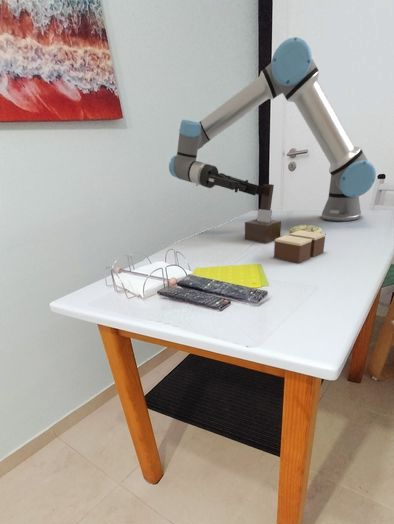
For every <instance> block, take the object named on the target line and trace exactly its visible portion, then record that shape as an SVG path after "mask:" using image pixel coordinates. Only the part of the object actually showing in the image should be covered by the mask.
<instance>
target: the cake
mask: <svg viewBox="0 0 394 524" xmlns="http://www.w3.org/2000/svg"><path fill="white" fill-rule="evenodd" d="M288 235H289V236H295V237H301V238H307V239H312V241H311V251H310V258H315V257H316V256H318V255H319V256H320V255H321V254H324V249H325V242H326V233H322V232H321V233H316V232H309V231H303V230H299V231H296V232H293V233H291V234H290V233H289V234H288Z"/></svg>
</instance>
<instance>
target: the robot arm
mask: <svg viewBox="0 0 394 524" xmlns="http://www.w3.org/2000/svg"><path fill="white" fill-rule="evenodd" d="M312 57H313V56H312V50H311V47H310V46H309V43H307V41H306V40H305V39H303V38H301V37H297V36H296V37H295V36H293V37H289V38H287V39H285V40H284V41H282V42H281V43H279V45H278V47H277V48H276V49H275V51H274V53H273V55H272V58H271V62H270V63H269V64H268V65H267V66H266V67H264V68H263V69H262V70H261V71H260V74H259V76H258V77H257V78H256V79H254V80H253V81H252V82H250V83H249V84H248V85H246V86H245V87H244V88H242V89H241V90H239V92H237V93H236V94H234V95H233V96H231V97H230V98H229V99H228V100H227V101H225V102H224V103H222V104H221V105H220V106H219V107H217V108H216V109H214V110H213V111H212V112H211V113H209V114H208V115H207V116H205V117H204V118H202V119H201V120H200V121H199V122H198V121H193V120H189V119H182V120H181V121H180V126H179V127H180V128H179V130H178V132H179V133H178V141H177V152H176V155H173V156H172V157H171V158H170V162H169V163H168V171H169V174H170V175H171V176H172V177H174V178H176V179H178V180H181V181H185V182H190V183H192V184H195V186H196V187H198V186H201V187H205V188H207V189H212V188H214V187H215V186H218V187H222V188H225V189H228V190H231V191H234V193H238V191H239V192H242V193H244V194H248V195H252V196H256V195H257V196H262V191H263V185H262V186H261V185H259V184H255V183H252V182H249V179H245V180H243V179H240V178H237V177H233V176H231V175H227V174H225V173H222V172H219V169H218V167H217V166H216V165H213V164H209V163H206V162H203V161H198V160H197V156H198V151H199V150H200V149H201V148H203V147H204V146H205V145H206V144H207V143H209V142H210V141H211V140H213V139H214V138H215V137H217V136H218V135H220V134H221V133H223V132H224V131H225V130H227V129H229V127H231V126H233V124H235V123H237V122H238V121H239V120H241V119H242V118H244V117H245V116H246V115H248V114H249V113H251V112H252V111H253V110H254V109H257V107H259V106H261V105H262V104H263V103H264V102H267V100H274V99H275V98H277V97H278V96H280V95H283V97H284V98H285V99H286V101H287V102H289V103H290V102H291V103H294V104H295V107H296V108H297V110H298V112H299V113H300V115H301V117H302V118H303V120H304V121H305V123H306V125H307V127H308V128H309V130H310V132H311V134H312V135H313V137H314V139H315V141H316V142H317V144H318V145H319V147H320V149H321V150H322V153H323V154H324V156H325V157H326V159H327V161H328V162H329V164H330V165H329V169H328V172H329V174H330V182H329V189H328V196H327V197H328V198H327V200H326V203H325V205H324V208H323V210H322V213H321V219H322V220H325V221H329V222H330V221H331V222H350V221H356V220H359V219H360V218H361V215H362V210H361V203H360V197H361V196H363V195H364V194H366V193H367V192H369V190H370V189H372V187H373V186H374V184H375V182H376V177H377V171H376V168H375V166H374V164H373V163H372V162H371V161H369V160H368V158H367V157H366V154H365V153H364V151H363V149H362V148H361V147H359V146H355V145H354V144H353V142H352V141H351V138H350V136H349V135H348V133H347V131H346V130H345V128H344V126H343V124H342V122H341V121H340V119H339V117H338V115H337V113H336V112H335V109H334V108H333V106H332V104H331V102H330V101H329V99H328V97H327V95H326V93H325V92H324V91H325V90H324V89H323V88H322V86H321V84H320V83H319V76H320V75H319V74H320V70H319V69H318V67H317V64H316V63H315V61H314V59H313V58H312Z"/></svg>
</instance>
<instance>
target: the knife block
mask: <svg viewBox="0 0 394 524" xmlns="http://www.w3.org/2000/svg"><path fill="white" fill-rule="evenodd" d="M281 231H282V220H277V219H271V223H264V222H257V218H254V219H251V220H248V221H245V222H244V240H247V241H252V242H256V243H257V242H258V243H261V244H262V243H263V244H269V243H271V242H275V239H277V238H279V237H281V235H282V233H281Z"/></svg>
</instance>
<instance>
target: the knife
mask: <svg viewBox="0 0 394 524" xmlns="http://www.w3.org/2000/svg"><path fill="white" fill-rule="evenodd" d="M274 187H275V184H271V183H263V184H262V191H261V200H260V207H259V209H257V216H256V219H257V222H264V223H271V220H272V215H273V214H272V213H273V209H272V201H273V194H274Z"/></svg>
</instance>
